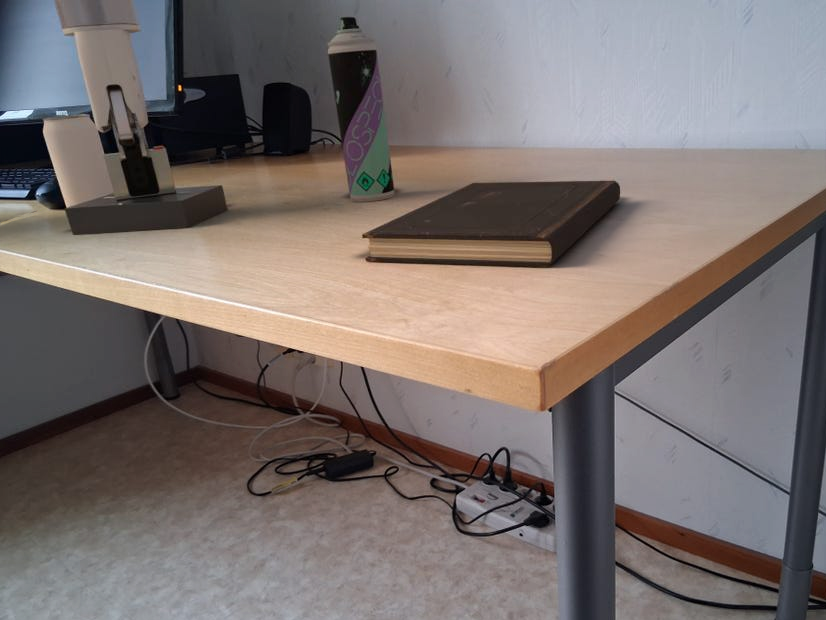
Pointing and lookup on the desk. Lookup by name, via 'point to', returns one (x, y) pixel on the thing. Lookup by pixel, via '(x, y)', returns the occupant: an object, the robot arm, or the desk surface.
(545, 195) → the hardcover book
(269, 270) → the desk surface
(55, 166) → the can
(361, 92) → the spray can
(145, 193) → the robot arm
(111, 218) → the dark grey base plate
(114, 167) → the white rectangular block
